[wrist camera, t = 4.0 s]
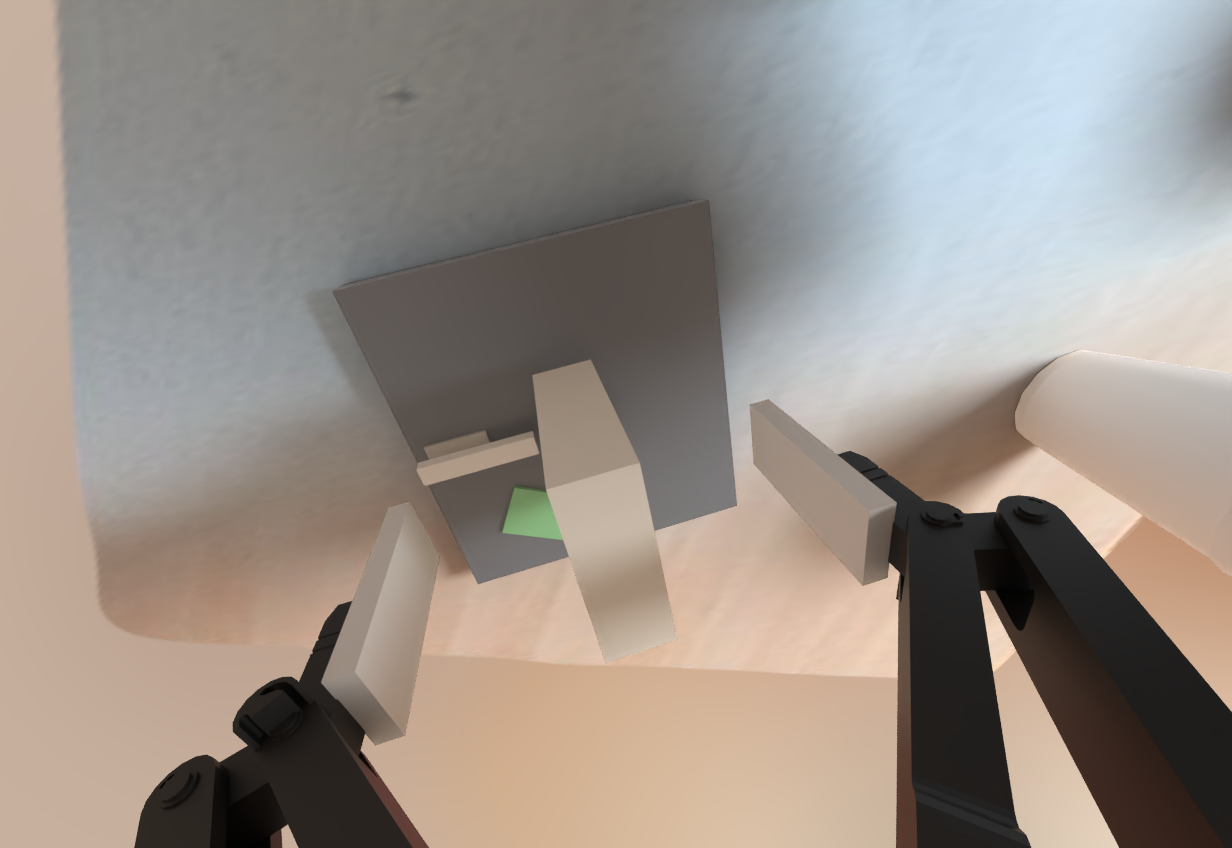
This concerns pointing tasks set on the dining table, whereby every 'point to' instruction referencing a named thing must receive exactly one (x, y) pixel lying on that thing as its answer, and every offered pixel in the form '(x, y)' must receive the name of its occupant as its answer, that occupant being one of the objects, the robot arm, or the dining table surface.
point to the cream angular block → (589, 505)
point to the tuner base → (549, 339)
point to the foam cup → (1142, 439)
